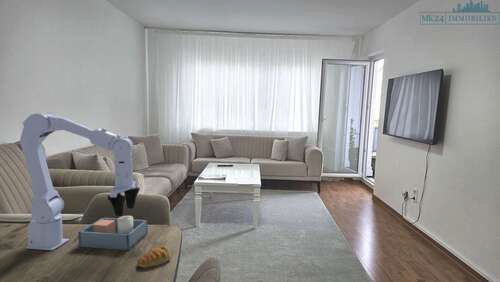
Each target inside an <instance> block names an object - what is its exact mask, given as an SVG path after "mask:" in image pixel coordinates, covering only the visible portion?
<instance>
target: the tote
mask: <svg viewBox="0 0 500 282" xmlns="http://www.w3.org/2000/svg"><path fill="white" fill-rule="evenodd" d="M118 218H119V217H118ZM118 218H115V217H101V218H99V219H98V220H96V221H95V222H93V223H91V224H89V225H88V226H86V227H85V228H83V229H81V230H79V231H78V232H77V233H78V235H77V236H78V247H82V248H95V249H107V250H108V249H109V250H110V249H111V250H121V251H131V249H132V248H134V246H135V245H136V244H138V243H139V242H140V241H141V240H142V239H143V238H144V237H145V236H147V234H148V233H149V231H148V220H147V219H135V218H133V230H132V231H131V232H130V233H129V234H118ZM100 220H115V234H114V233H99V232H93V225H94V224H95V223H97V222H99V221H100Z"/></svg>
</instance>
